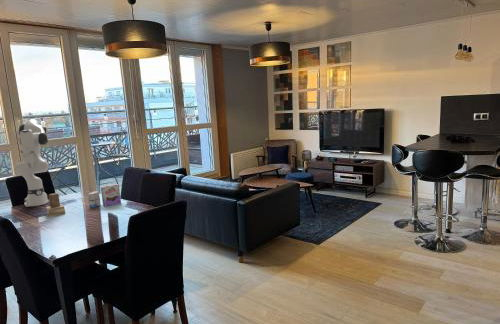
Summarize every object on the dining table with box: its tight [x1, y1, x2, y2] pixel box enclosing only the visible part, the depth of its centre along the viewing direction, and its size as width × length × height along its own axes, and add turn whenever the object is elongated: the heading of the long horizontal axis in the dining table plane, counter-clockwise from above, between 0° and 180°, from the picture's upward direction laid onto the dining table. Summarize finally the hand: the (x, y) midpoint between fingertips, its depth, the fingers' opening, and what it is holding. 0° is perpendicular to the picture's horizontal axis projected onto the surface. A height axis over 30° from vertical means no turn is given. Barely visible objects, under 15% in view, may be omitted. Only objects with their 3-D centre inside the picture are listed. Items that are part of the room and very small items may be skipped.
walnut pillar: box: [48, 192, 61, 208], centre depth 268 cm, size 5×5×10 cm
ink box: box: [87, 191, 101, 208], centre depth 283 cm, size 9×5×12 cm, turn 168°
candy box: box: [100, 183, 122, 207], centre depth 285 cm, size 14×6×16 cm, turn 120°
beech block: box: [45, 203, 66, 218], centre depth 269 cm, size 11×11×6 cm
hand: (32, 168), depth 265 cm, fingers open, 8 cm apart
